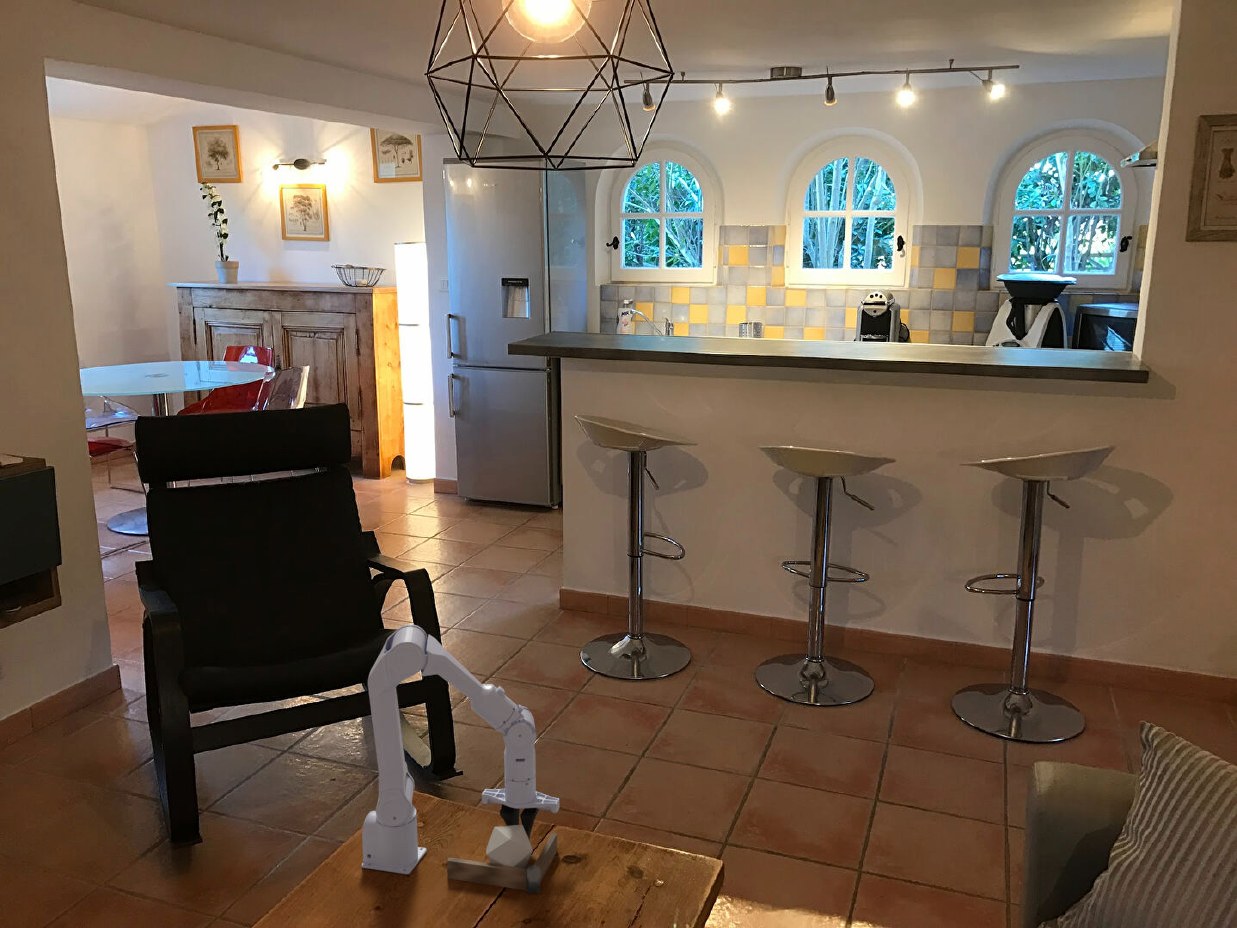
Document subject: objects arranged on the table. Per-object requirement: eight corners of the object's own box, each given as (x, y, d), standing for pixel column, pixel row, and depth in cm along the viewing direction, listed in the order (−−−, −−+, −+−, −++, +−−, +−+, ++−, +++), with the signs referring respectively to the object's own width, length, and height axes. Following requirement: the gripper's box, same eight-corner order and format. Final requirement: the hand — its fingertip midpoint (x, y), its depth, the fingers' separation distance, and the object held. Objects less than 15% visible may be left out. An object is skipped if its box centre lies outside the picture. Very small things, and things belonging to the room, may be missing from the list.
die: (517, 891, 177) (544, 840, 179) (474, 868, 176) (502, 817, 178) (515, 880, 185) (541, 831, 187) (474, 857, 184) (501, 809, 186)
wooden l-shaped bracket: (445, 880, 179) (445, 860, 178) (474, 838, 192) (474, 819, 191) (537, 894, 175) (537, 873, 174) (560, 850, 188) (560, 831, 187)
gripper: (564, 768, 187) (564, 834, 190) (490, 759, 190) (492, 824, 193) (552, 787, 180) (553, 855, 183) (476, 777, 184) (478, 844, 186)
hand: (521, 841), depth 187 cm, fingers closed
